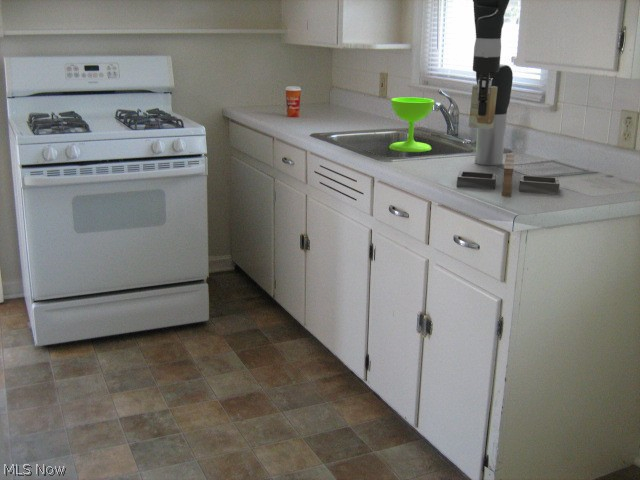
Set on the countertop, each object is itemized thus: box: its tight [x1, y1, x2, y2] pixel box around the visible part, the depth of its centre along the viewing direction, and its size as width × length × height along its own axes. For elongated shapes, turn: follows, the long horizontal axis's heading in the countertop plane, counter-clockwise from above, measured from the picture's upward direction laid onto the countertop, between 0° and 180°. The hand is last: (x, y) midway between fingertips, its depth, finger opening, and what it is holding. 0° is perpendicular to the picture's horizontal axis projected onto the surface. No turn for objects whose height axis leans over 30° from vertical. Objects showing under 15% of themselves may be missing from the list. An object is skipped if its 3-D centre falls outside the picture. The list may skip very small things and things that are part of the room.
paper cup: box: [284, 85, 302, 118], centre depth 354 cm, size 8×8×14 cm
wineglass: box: [388, 97, 435, 153], centre depth 277 cm, size 16×16×18 cm
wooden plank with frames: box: [456, 152, 560, 198], centre depth 219 cm, size 24×29×8 cm
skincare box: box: [468, 84, 498, 130], centre depth 216 cm, size 6×4×12 cm
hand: (482, 113), depth 216 cm, fingers closed on skincare box, 5 cm apart
